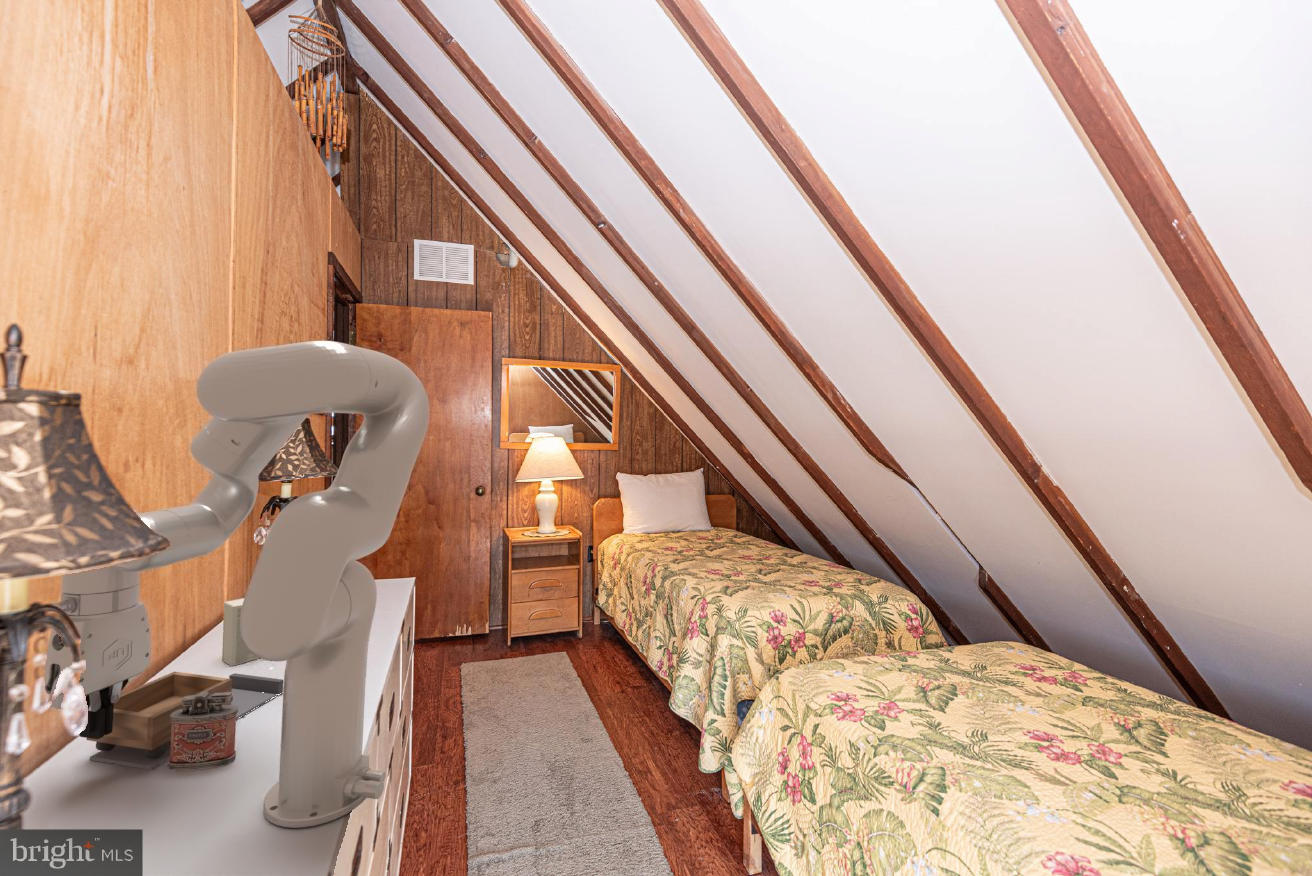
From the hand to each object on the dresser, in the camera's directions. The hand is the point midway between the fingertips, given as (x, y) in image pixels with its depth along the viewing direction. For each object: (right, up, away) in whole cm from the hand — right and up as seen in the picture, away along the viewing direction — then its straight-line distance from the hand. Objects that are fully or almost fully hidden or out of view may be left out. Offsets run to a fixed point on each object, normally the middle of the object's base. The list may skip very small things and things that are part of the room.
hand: (95, 734), depth 77 cm
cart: (+1, -6, +9) cm, 11 cm away
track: (+2, -6, +14) cm, 16 cm away
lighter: (+10, -7, +5) cm, 13 cm away
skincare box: (-8, -5, +39) cm, 40 cm away
